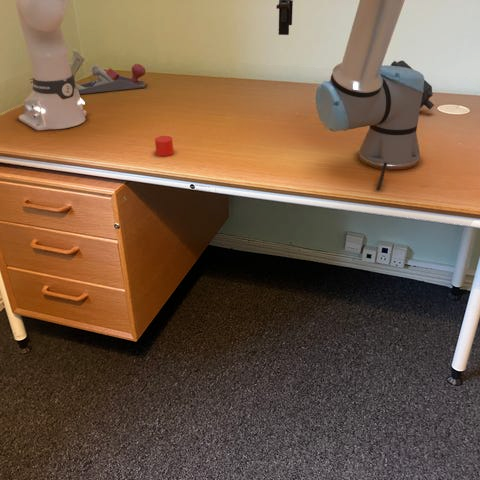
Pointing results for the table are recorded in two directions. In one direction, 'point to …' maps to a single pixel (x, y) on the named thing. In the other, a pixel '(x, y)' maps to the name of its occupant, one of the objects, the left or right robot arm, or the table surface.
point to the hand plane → (106, 77)
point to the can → (164, 145)
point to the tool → (426, 88)
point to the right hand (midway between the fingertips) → (285, 29)
